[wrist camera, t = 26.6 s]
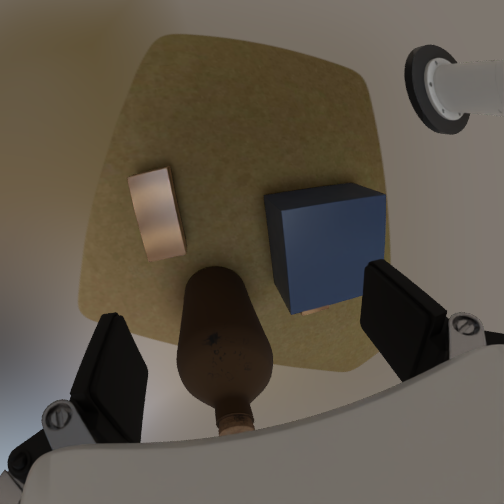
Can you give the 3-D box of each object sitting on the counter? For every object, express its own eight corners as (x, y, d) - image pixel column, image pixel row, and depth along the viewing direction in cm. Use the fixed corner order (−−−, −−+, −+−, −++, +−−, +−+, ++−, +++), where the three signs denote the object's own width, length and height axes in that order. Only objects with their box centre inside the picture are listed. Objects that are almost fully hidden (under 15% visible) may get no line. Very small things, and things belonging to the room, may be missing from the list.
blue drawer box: (358, 181, 40) (393, 193, 32) (359, 262, 46) (387, 287, 38) (263, 195, 39) (281, 210, 30) (274, 282, 44) (291, 315, 36)
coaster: (328, 308, 47) (327, 306, 48) (328, 284, 45) (326, 282, 46) (302, 316, 47) (300, 313, 48) (300, 291, 45) (298, 289, 46)
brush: (136, 172, 34) (126, 177, 30) (171, 164, 35) (167, 167, 30) (154, 248, 39) (148, 262, 34) (187, 241, 39) (186, 254, 35)
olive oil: (167, 294, 42) (151, 438, 19) (214, 248, 40) (238, 382, 17) (216, 331, 46) (237, 466, 23) (262, 291, 44) (319, 422, 22)
